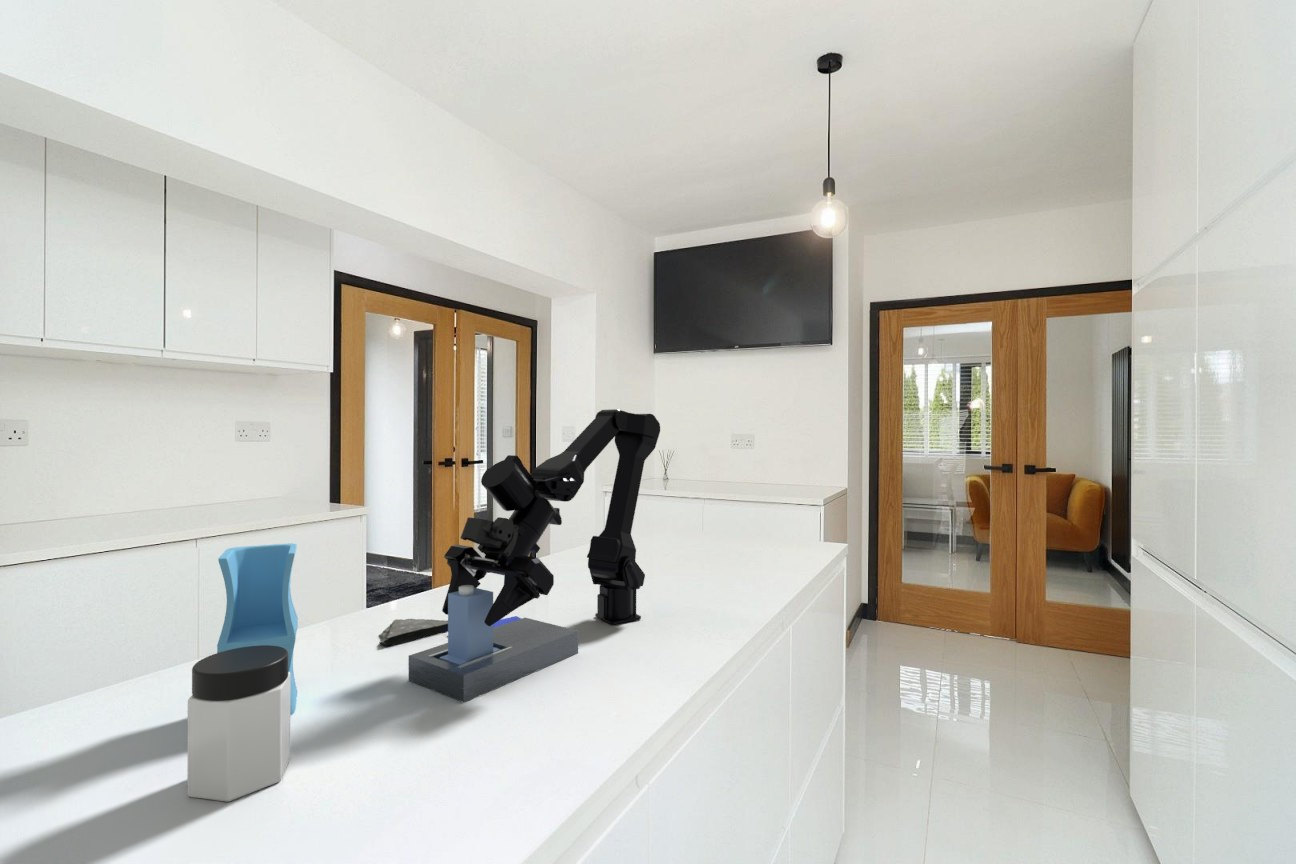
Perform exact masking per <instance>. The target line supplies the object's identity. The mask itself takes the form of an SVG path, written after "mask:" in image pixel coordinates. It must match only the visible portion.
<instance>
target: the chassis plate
mask: <svg viewBox="0 0 1296 864" xmlns="http://www.w3.org/2000/svg"><path fill="white" fill-rule="evenodd" d="M521 618H522V617H521ZM493 647H495V648H498V649H501V650H500V651H497V652H494V653H492V654H489V655H486V656H483V657H481V658H478V659H475V660H473V661H470V662H467V663H465V664H462V665H459V666H457V665H454V664H451V663H448V662H445V661H442V660H439V657H442V656H445V655H448V642H446V643H443V644H439V645H437V646H434V647H431V648H428V649H425V650H422V651H419V652H415V653H413V654H410V655H408V682H411V683H413V684H416V685H419V686H421V687H424V688H425V689H429V690H431V691H434V692H436V693H439V694H441V695H444V696H446V697H449V698H451V699H453V700H457V701H459V702H461V703H465V702H467V701H470V700H472V699H475V698H478V697H479V696H481V695H484V694H486V693H489V692H491V691H493V690H495V689H497V688H500V687H503V686H505V685H507V684H510V683H512V682H514V681H517V680H519V679H521V678H523V677H525V676H527V675H531V674H533V673H535V672H537V671H540V670H542V669H545V668H546V667H549V666H551V665H554V664H556V663H557V662H560V661H563V660H565V659H567V658H569V657H572V656H575V655H577V654H578V653H579V630H576V629H573V628H569V627H564V626H561V625H558V624H552V623H548V622H546V621H545V622H544V621H541V620H536V619H533V618H529V617H523V618H522V619H519V620H516V621H513V622H510V623H507V624H504V625H501V626H497V627H494V628H493Z"/></svg>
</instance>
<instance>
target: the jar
mask: <svg viewBox="0 0 1296 864" xmlns="http://www.w3.org/2000/svg"><path fill="white" fill-rule="evenodd" d="M290 690H291V673H290V672H288V651H287V650H286V649H285V648H282V647H279V646H271V645H260V646H249V647H241V648H236V649H231V650H227V651H223V652H219V653H217V652H216V653H213V654H211V655H209V656H206V657H204V658H202V659H200V660H199V661H197V662H196V663H195V664H194V665H193V666H192V668H191V694H192V695H191V696H189V698H188V699H187V771H186V772H187V774H186V775H187V777H186V779H187V787H186V788H187V797H189V798H194V799H195V798H196V799H204V800H205V799H206V800H212V801H219V802H220V801H221V802H229V803H230V802H231V801H234V800H237V799H239V798H242V797H245V796H246V795H250V794H252V793H255V792H257V791H260V790H263V789H265V788H268V787H270V786H272V785H275V784H277V783H280V782H281V781H282V779H283V778H284V774H285V772H286V770H287V766H289V765H288V764H289V763H290V760H291V715H290Z"/></svg>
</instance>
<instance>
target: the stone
mask: <svg viewBox="0 0 1296 864" xmlns="http://www.w3.org/2000/svg"><path fill="white" fill-rule="evenodd" d="M443 633H448V620H444V619H443V620H439V619H424V618H422V619H421V618H418V619H417V618H406V619H402V618H401V619H398V618H397V619H394V620H393V621H392V623H390V624H389V625H388V627H386V628H385V629H384V630H383V631H382V632H381V633H380V634H378V637H380V638H381V639H382V640H381V641H380V642H379V646H388V645H389V646H399V645H404V644H407V643H411V642H414V641H419V640H421V639H425V638H428V637H433V636H437V635H440V634H443Z"/></svg>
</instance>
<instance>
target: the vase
mask: <svg viewBox="0 0 1296 864" xmlns="http://www.w3.org/2000/svg"><path fill="white" fill-rule="evenodd" d="M297 547H298V545H297V543H294V542H293V543H292V542H291V543H277V544H276V543H275V544H274V543H273V544H262V545H261V544H260V545H259V544H258V545H246V546H235V547H230V548H227V549H225V550H224V551H223V552H222V553H221V555H220V556H219V558H218V559H217V561H218V564H219V568H220V570H221V571H220V572H221V573H222V574H221V575H222V578H223V581H224V586H225V594H226V606H225V607H226V608H225V613H224V614H225V615H224V621H223V625H222V628H221V632H220V635H219V638H218V641H217V645H216V647H217V650H216V651H217V652H216V653H219V652H223V651H227V650H231V649H236V648H241V647H249V646H260V645H271V646H279V647H282V648H285V649H286V650H287V651H288V672H290V673H291V690H290V716H291V715H293V714H295V711H296V709H297V697H298V689H297V688H298V687H297V685H296V683H297V682H296V681H295V680H296V678H295V673H294V672H295V671H294V649H295V645H296V639H297V638H296V637H297V632H298V627H299V626H298V625H299V624H298V623H299V622H298V620H299V618H298V615H297V612H296V609H295V606H294V603H293V599H292V593H291V580H292V578H291V577H292V571H293V565H294V561H295V560H294V559H295V554H296V551H297Z"/></svg>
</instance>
